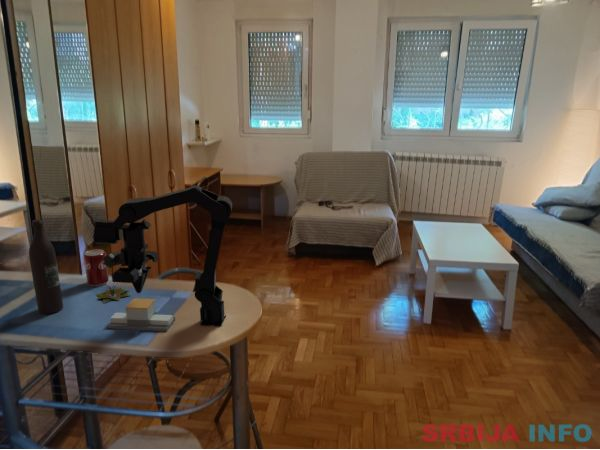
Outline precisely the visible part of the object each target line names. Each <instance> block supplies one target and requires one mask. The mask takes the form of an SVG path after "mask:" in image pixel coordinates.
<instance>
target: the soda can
mask: <svg viewBox="0 0 600 450" xmlns="http://www.w3.org/2000/svg"><path fill="white" fill-rule="evenodd" d="M106 255H107V253H106V251H104V249H90V250H88V251H85V252H84V253H83V260H84V268H85V275H86V284H87V285H88V286H90V287H101V286H104V285H106V284H107V283H108V282H109V280H110V279H109V272H108V270H109V269H108V267H107V266H106V265H104V256H106Z"/></svg>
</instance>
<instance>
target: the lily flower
mask: <svg viewBox="0 0 600 450" xmlns="http://www.w3.org/2000/svg"><path fill="white" fill-rule="evenodd" d="M109 285H110V286H108V285H106V284H105V286H106V287H107V289H105V290H104V291H103V292H99V293H96V294H95V296H98V297H97V298H96V299H95V301H97V300H100V299H102V302H103V304H104V303H107V302H110V301H113V300H116V301H118V302H119V301H120V299H121V298H122V297H129V296H131V295H130V294H128V293H126V292H129V291H130V290H128V289H123V288H122V287H116V286H117V284H115V285H114V284H113V286H111V283H109ZM109 298H110V299H109Z"/></svg>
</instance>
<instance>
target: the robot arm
mask: <svg viewBox="0 0 600 450" xmlns="http://www.w3.org/2000/svg"><path fill="white" fill-rule="evenodd" d="M189 203H195V204H197V205H198V206H199V207H201V208H202V209H203V210H204V211H205V210H206V211H207V212H209V213H210V234H209V239H208V242H207V243H208V244H207V249H206V255H205V259H204V265H203V270H202V271H201V272H199V271H196V276H195V278H194V286H193V290H192V293H194V298H195V299H196V300H197V301H198V302H200V305H201V306H200V308H199V314H200V315H199V316H200V319H199V320H200V325H201V326H210V325H214V326H215V327H222V325H223V324H222V323H224V321H225V319H226V317H227V315H226V314H225V300H223V292H224V291H223V290H222V288H220V287H219V286H218V285H217V283H216V282H217V281H216V280H217V276H216V272H217V271H216V270H217V264H218V260H219V255H220V250H221V245H222V239H223V236H224V235H223V234H224V230H225V229H226V226H227V224H228V221H229V220H230V217H231V214H232V208H233V202H232V200H231V199H230V198H229V197H227V196H225V195H219V194H217V193H214V192H213V191H210V190H207V189H204V188H203V187H201V186H199V185H191V186H190V187H187V188H183V189H180V190H175V191H172V192H168V193H165V194H160V195H158V196H154V197H137V198H136V197H135V198H130V199H127V200H126V201H124V203H123V204H122V205H120V207H119V208H118V216H117V217H116V218H115V219H114V220H103V219H97V220H95V222H94V225H95V226H94V229H93V234H92V237H93V238H92V239H93V242H94V244H95V245H116V244H119V242H120V241H122V240H123V246H122V248H121V249H120V250H118V251H115V252H112V253H109V254H106V256H104V265H106V266H107V268H109V269H111V268H113V267H115V266H119V265H121V267H119V268H118V269H117V270H115V271H114V272H113V273H112V274H111V280H112V283H123V284H124V283H127V284H132V287H133V288H134V290H135V292H136V294H141V293H142V291H143V289H144V286H145V283H146V280H147V278H148V276H149V273H150V271H151V269H152V267H151V266H148V265H147V263H148V262H149V261H150V260H151V261H152V262H153V263H154V264H155V263H157V262H158V261H159V258H160V257H159V253H157V252H156V251H155V250H147V249H148V248H149V244H148V243H146V239H145V230H148V229H150V228H151V226H152V224H151V223H150V222H149V221H147V220H146V219H145V218H146V217H148V216H149V215H151V214H154V213H156V212H160V211H163V210H167V209H171V208H174V207H178V206H181V205H185V204H189ZM140 220H142V221H140ZM126 266H127V267H126ZM224 315H225V316H224Z"/></svg>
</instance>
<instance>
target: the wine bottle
mask: <svg viewBox="0 0 600 450" xmlns="http://www.w3.org/2000/svg"><path fill="white" fill-rule="evenodd" d="M31 227H32V228H33V229H32V230H33V238H32V240H31V242H30V245H29V249H28V255H29V256H28V257H29V263H30V269H31V274H32V282H33V287H34V294H35V299H36V305H37V311H38V312H39V314H41V315H51V314H56V313H58V312H59V311H62V310H63V309H64V302H63V297H62V289H61V283H60V275H59V269H58V263H57V256H56V251H55V248H54V245H53V244H52V242H51V240H49V239H48V237H47V236H46V234H45V232H44V228H43V227H44V220H42V219H33V220H32V222H31Z"/></svg>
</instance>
